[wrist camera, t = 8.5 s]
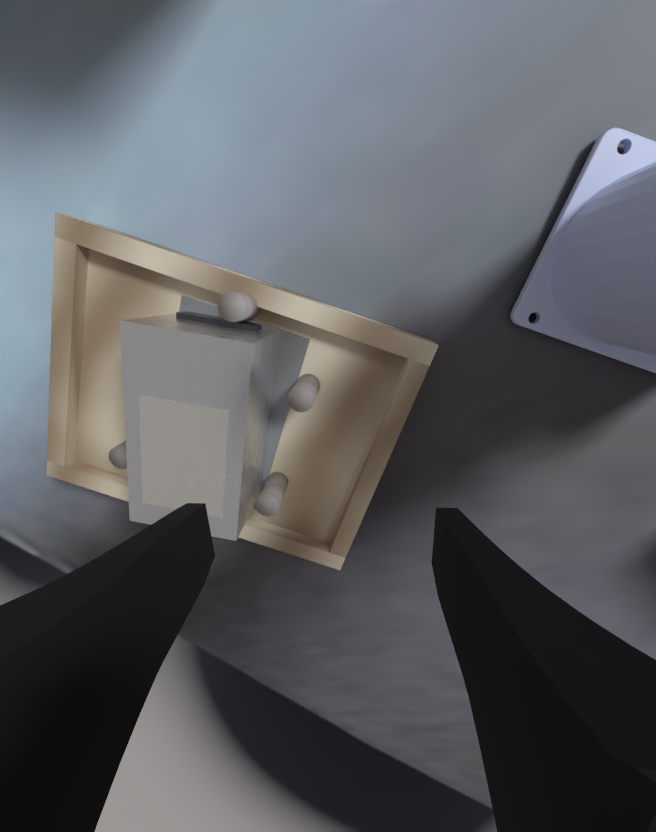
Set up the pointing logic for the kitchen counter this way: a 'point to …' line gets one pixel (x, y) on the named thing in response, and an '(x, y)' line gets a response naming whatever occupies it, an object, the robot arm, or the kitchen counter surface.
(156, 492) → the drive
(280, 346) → the tray
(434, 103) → the kitchen counter surface
